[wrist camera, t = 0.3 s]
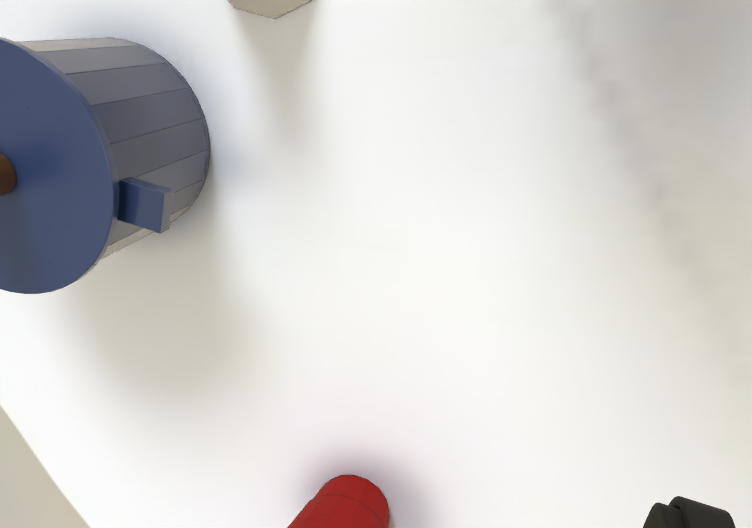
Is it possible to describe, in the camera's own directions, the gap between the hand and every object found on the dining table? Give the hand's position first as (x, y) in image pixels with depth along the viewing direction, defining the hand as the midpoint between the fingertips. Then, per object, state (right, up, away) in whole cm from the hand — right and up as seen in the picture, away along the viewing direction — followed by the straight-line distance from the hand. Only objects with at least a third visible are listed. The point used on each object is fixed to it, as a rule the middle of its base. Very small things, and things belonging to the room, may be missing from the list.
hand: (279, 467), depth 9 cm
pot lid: (-20, +8, +30) cm, 36 cm away
